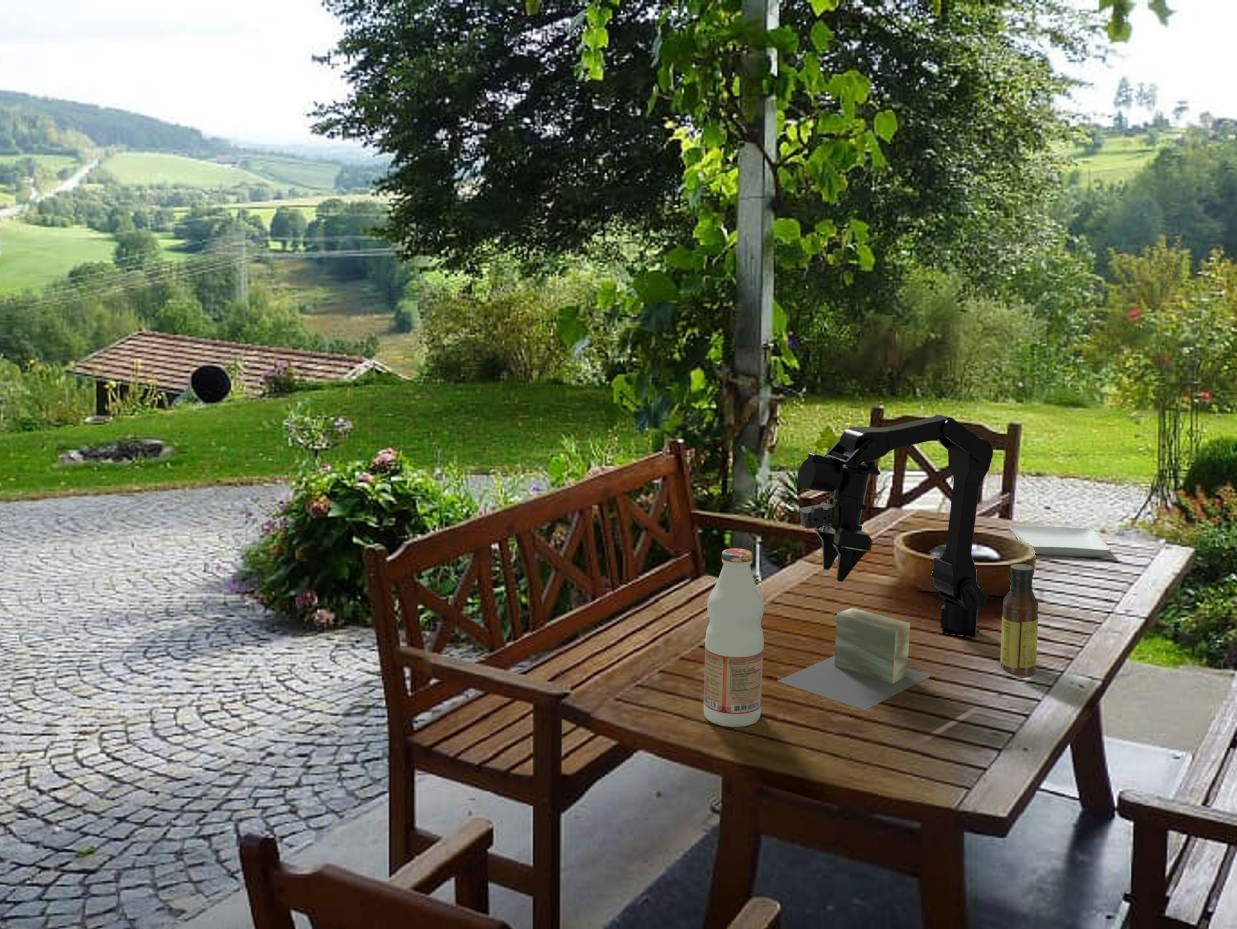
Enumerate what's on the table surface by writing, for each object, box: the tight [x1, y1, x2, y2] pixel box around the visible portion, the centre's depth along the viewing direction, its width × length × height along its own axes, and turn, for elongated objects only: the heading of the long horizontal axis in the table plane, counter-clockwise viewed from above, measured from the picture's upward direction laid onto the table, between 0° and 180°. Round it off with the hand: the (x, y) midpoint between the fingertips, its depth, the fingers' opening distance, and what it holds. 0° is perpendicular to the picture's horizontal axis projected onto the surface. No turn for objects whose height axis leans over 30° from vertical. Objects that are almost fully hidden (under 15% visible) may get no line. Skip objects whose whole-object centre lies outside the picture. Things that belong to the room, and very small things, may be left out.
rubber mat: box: [776, 655, 932, 711], centre depth 208 cm, size 22×18×1 cm
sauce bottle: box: [999, 563, 1039, 677], centre depth 211 cm, size 6×6×20 cm
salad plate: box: [1009, 525, 1111, 558], centre depth 298 cm, size 21×21×3 cm
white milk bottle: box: [703, 547, 765, 728], centre depth 189 cm, size 9×9×28 cm
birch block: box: [834, 607, 911, 684], centre depth 210 cm, size 5×12×10 cm, turn 46°
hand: (832, 575), depth 221 cm, fingers open, 9 cm apart
